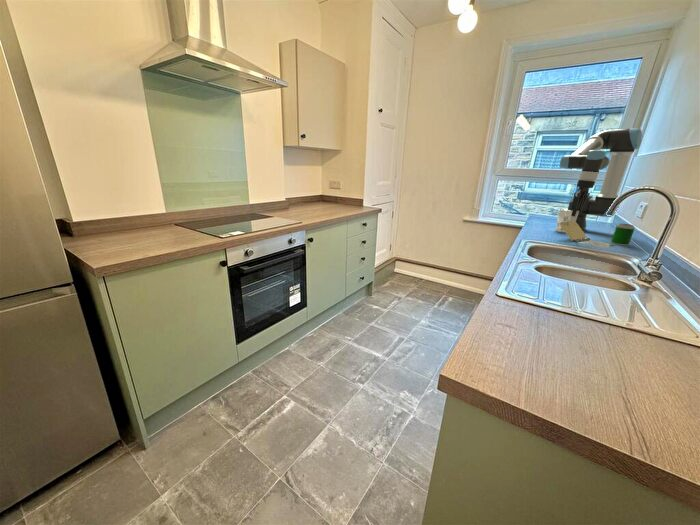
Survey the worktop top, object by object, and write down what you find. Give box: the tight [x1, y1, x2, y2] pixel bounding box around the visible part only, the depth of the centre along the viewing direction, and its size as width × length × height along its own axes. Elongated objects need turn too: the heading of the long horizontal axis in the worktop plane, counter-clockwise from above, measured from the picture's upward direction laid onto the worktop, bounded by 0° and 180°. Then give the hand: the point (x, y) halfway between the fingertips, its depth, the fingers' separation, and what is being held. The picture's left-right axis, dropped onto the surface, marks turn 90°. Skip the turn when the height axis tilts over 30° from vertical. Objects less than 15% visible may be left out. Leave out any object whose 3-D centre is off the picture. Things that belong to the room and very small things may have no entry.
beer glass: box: [554, 208, 572, 233], centre depth 185 cm, size 7×7×15 cm
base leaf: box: [578, 239, 618, 249], centre depth 157 cm, size 16×14×2 cm
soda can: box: [610, 223, 635, 246], centre depth 158 cm, size 8×8×12 cm
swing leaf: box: [559, 221, 591, 244], centre depth 164 cm, size 16×14×2 cm
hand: (572, 221), depth 166 cm, fingers closed
